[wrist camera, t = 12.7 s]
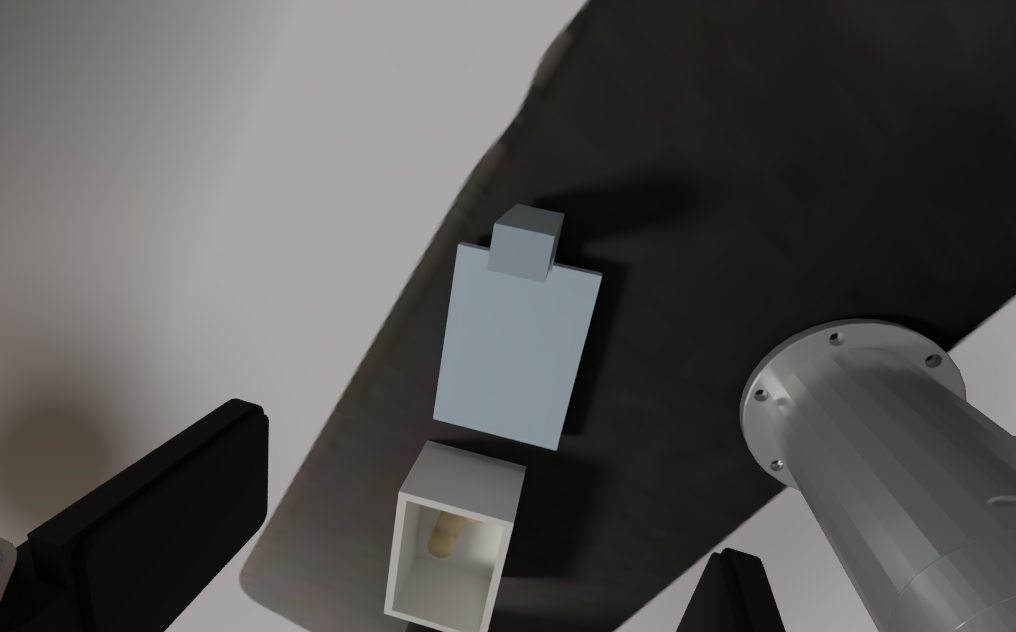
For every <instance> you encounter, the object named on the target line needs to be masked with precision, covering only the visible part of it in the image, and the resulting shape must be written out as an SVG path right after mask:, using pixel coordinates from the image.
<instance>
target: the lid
mask: <svg viewBox="0 0 1016 632" xmlns="http://www.w3.org/2000/svg"><path fill="white" fill-rule="evenodd" d="M563 219H564V214H562V213H557V212H553V211H548V210H543V209H539V208H534V207H529V206H524V205H520V204H516V205H515V206H514V207H513V208H512V209H510V210H509V211H508V212H507V213H506V214H505V215H504V216H502V217H501V218H500V219H499V220H498V221H497V222H495V224H494V230H493V235H492V241H491V247H490V248H487V247H483V246H478V245H474V244H469V243H465V242H461V243H459V244H458V250H457V257H456V264H455V270H454V277H453V284H452V291H451V298H450V305H449V312H448V319H447V326H446V333H445V340H444V347H443V353H442V360H441V367H440V374H439V381H438V388H437V395H436V402H435V409H434V416H433V419H436V420H440V421H444V422H448V423H452V424H455V425H459V426H463V427H467V428H471V429H475V430H479V431H482V432H486V433H490V434H494V435H498V436H502V437H506V438H509V439H513V440H517V441H521V442H525V443H529V444H533V445H537V446H540V447H544V448H548V449H552V450H557V446H558V442H559V438H560V434H561V431H562V427H563V423H564V419H565V415H566V412H567V408H568V404H569V400H570V396H571V393H572V389H573V385H574V381H575V377H576V374H577V370H578V366H579V362H580V358H581V355H582V351H583V347H584V343H585V339H586V336H587V332H588V328H589V324H590V320H591V317H592V313H593V309H594V305H595V301H596V298H597V294H598V290H599V286H600V282H601V279H602V273H600V272H596V271H591V270H587V269H582V268H578V267H573V266H569V265H564V264H560V263H555V262H554V259H555V255H556V250H557V246H558V241H559V237H560V232H561V228H562V223H563Z"/></svg>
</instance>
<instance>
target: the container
mask: <svg viewBox="0 0 1016 632" xmlns="http://www.w3.org/2000/svg"><path fill="white" fill-rule="evenodd" d="M406 632H444V631H440V630H437V629H434V628H430V627H427V626H424V625H420V624H417V623H414V622H411V621H410V622H409V624H408V627H407V630H406Z"/></svg>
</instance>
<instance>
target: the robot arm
mask: <svg viewBox="0 0 1016 632" xmlns="http://www.w3.org/2000/svg"><path fill="white" fill-rule="evenodd" d="M834 333H835V334H834ZM832 334H834V336H832V337H831V335H832ZM758 390H760V391H758ZM756 391H758V392H756ZM740 424H741V429H742V433H743V436H744V438H745V441H746V443H747V445H748V447H749V450H750V451H751V453H752V454H753V456H754V457H755V459H756V460H757V462H758V463H759V464H760V465H761V466H762V467H763V468H764V470H765V471H766V472H768V473H769V474H770V475H771V476H773V477H774V478H776V479H778V480H779V481H781V482H782V483H784V484H786V485H788V486H790V487H793V488H795V489H797V490H799V491H801V493H802V494H803V496H804V498H805V500H806V502H807V503H808V505H809V507H810V509H811V510H812V512H813V514H814V516H815V518H816V520H817V521H818V523H819V525H820V527H821V529H822V530H823V532H824V534H825V536H826V537H827V539H828V541H829V543H830V545H831V546H832V548H833V550H834V552H835V554H836V555H837V557H838V559H839V561H840V563H841V564H842V566H843V568H844V570H845V572H846V573H847V575H848V577H849V579H850V580H851V582H852V584H853V586H854V588H855V590H856V591H857V593H858V595H859V596H860V598H861V600H862V602H863V604H864V606H865V607H866V609H867V611H868V613H869V615H870V616H871V618H872V620H873V622H874V623H875V625H876V627H877V629H878V631H879V632H1016V436H1012V435H1011V434H1009V433H1008V432H1007V431H1005V430H1004V429H1003V428H1001V427H1000V426H999V425H997V424H996V423H994V422H993V421H992V420H990V419H989V418H988V417H986V416H985V415H984V414H982V413H981V412H980V411H978V410H977V409H976V408H974V407H973V406H971V405H970V404H969V403H967V402H966V390H965V384H964V382H963V379H962V376H961V373H960V371H959V369H958V368H957V366H956V365H955V363H954V362H953V360H952V359H951V358H950V356H949V355H948V354H947V353H946V352H945V351H944V350H942V349H941V348H940V347H939V346H938V345H937V344H936V343H934V342H933V341H931V340H930V339H928V338H927V337H925V336H923V335H922V334H920V333H919V332H917V331H914V330H912V329H909V328H907V327H905V326H902V325H900V324H896V323H892V322H887V321H883V320H878V319H858V318H856V319H847V320H838V321H832V322H828V323H825V324H821V325H817V326H814V327H811V328H809V329H807V330H804V331H802V332H800V333H798V334H795V335H793V336H792V337H790V338H789V339H787V340H786V341H784V342H783V343H781V344H779V345H778V346H776V347H775V348H774V349H773V350H772V351H771V352H770V353H769V354H768V355H767V356H765V357H764V358H763V359H762V360H761V362H760V363H759V364H758V366H757V367H756V368H755V370H754V371H753V372H752V374H751V375H750V377H749V379H748V382H747V384H746V386H745V388H744V390H743V394H742V398H741V403H740ZM268 431H269V420H268V417H267V415H265V414H264V411H263V408H262V407H261V406H259V405H256V404H253V403H250V402H246V401H243V400H240V399H231V400H229V401H227V402H226V403H224V404H223V405H221V406H220V407H218V408H217V409H215V410H214V411H212V412H211V413H209V414H208V415H206V416H205V417H203V418H202V419H201V420H199V421H197V422H196V423H194V424H193V425H191V426H190V427H188V428H187V429H185V430H184V431H182V432H181V433H179V434H178V435H176V436H174V437H173V438H172V439H170V440H168V441H167V442H166V443H164V444H162V445H161V446H160V447H158V448H156V449H155V450H154V451H152V452H150V453H149V454H147V455H146V456H144V457H143V458H141V459H140V460H139V461H137V462H135V463H134V464H132V465H131V466H129V467H128V468H126V469H125V470H123V471H122V472H120V473H119V474H117V475H116V476H114V477H113V478H111V479H110V480H108V481H107V482H105V483H104V484H102V485H101V486H99V487H98V488H96V489H95V490H93V491H92V492H90V493H89V494H87V495H86V496H84V497H83V498H81V499H80V500H78V501H77V502H75V503H74V504H72V505H71V506H69V507H68V508H66V509H65V510H63V511H62V512H60V513H58V514H57V515H56V516H54V517H53V518H51V519H49V520H48V521H46V522H45V523H43V524H42V525H40V526H39V527H37V528H36V529H34V530H33V531H32V532H30V533H28V534H27V536H28V540H27V541H25V542H24V543H22V544H21V545H19V546H18V547H16V548H15V547H14V545H13V543H11V542H9V541H6V540H5V539H2V538H0V632H164V631H165V630H166V629H167V628H168V627H169V625H170V624H172V623H173V621H174V620H175V619H176V618H177V617H178V616H179V615H180V614H181V613H182V612H183V611H184V610H185V609H186V607H187V606H188V605H189V604H190V603H191V602H192V601H193V600H194V599H195V598H196V597H197V595H199V593H200V592H201V591H202V590H203V589H204V588H205V587H206V586H207V585H208V584H209V583H210V582H211V580H212V579H213V578H214V577H215V576H216V575H217V574H218V573H219V572H220V571H221V570H222V568H224V567H225V565H226V564H227V563H228V562H229V561H230V560H231V559H232V558H233V557H234V556H235V554H236V553H237V552H238V551H239V550H240V549H241V548H242V547H243V546H244V545H245V544H246V543H247V542H248V541H249V540H250V539H251V537H252V536H253V535H254V534H255V533H256V532H257V531H258V530H259V529H260V527H261V526H262V524H263V522H264V520H265V518H266V515H267V502H268V500H267V498H268V436H269V435H268V434H269V432H268ZM676 632H786V631H785V629H784V625H783V622H782V620H781V617H780V614H779V611H778V608H777V605H776V602H775V599H774V596H773V593H772V590H771V587H770V584H769V581H768V579H767V575H766V572H765V569H764V567H763V564H762V562H761V560H760V559H759V558H758V557H757V556H753V555H750V554H747V553H744V552H740V551H737V550H734V549H731V548H725V549H724V550H723V551H722V553H721V554H719V553H716V552H714V553H713V554H712V555H711V557H710V558H709V561H708V563H707V565H706V567H705V569H704V572H703V574H702V576H701V578H700V580H699V582H698V585H697V587H696V589H695V591H694V593H693V596H692V598H691V600H690V602H689V604H688V607H687V609H686V611H685V613H684V615H683V617H682V620H681V622H680V624H679V626H678V628H677V631H676Z"/></svg>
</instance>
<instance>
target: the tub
mask: <svg viewBox="0 0 1016 632" xmlns="http://www.w3.org/2000/svg"><path fill="white" fill-rule="evenodd" d="M525 470H526V466H523V465H519V464H515V463H511V462H507V461H504V460H500V459H496V458H492V457H489V456H485V455H481V454H477V453H473V452H470V451H466V450H462V449H458V448H455V447H451V446H447V445H443V444H439V443H436V442H432V441H428V440H427V442H426V444H425V446H424V448H423V449H422V451H421V453H420V455H419V457H418V458H417V460H416V462H415V464H414V465H413V467H412V469H411V471H410V473H409V474H408V476H407V478H406V480H405V482H404V483H403V485H402V487H401V489H400V491H399V496H398V504H397V512H396V520H395V528H394V536H393V544H392V552H391V560H390V568H389V576H388V584H387V592H386V600H385V608H384V614H387V615H391V616H394V617H397V618H401V619H404V620H407V621H411V622H414V623H417V624H420V625H424V626H427V627H430V628H434V629H437V630H440V631H444V632H488V628H489V624H490V619H491V615H492V611H493V607H494V603H495V599H496V595H497V591H498V587H499V582H500V578H501V574H502V570H503V566H504V562H505V558H506V554H507V549H508V545H509V541H510V537H511V533H512V529H513V525H514V520H515V516H516V511H517V507H518V502H519V498H520V493H521V488H522V484H523V479H524V475H525Z"/></svg>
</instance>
